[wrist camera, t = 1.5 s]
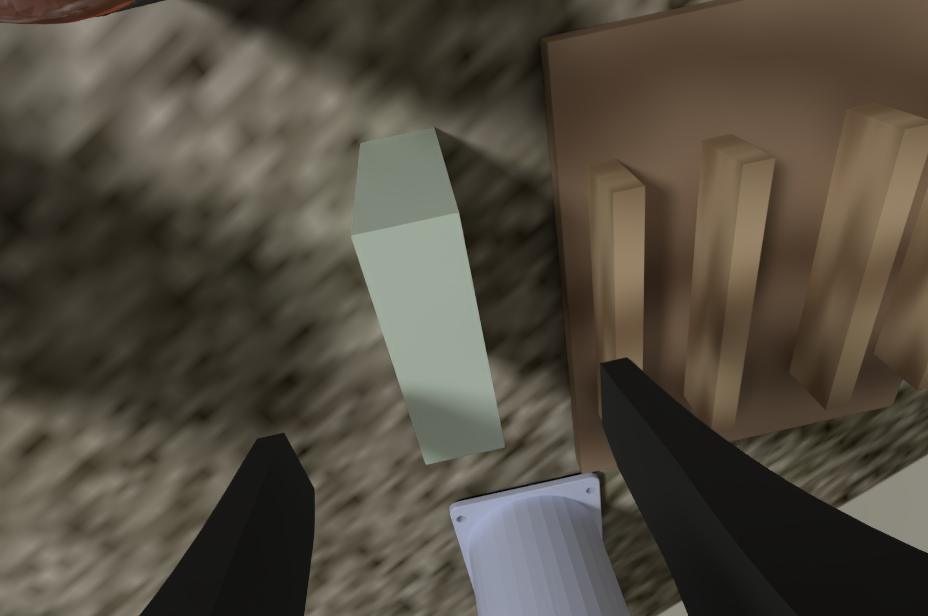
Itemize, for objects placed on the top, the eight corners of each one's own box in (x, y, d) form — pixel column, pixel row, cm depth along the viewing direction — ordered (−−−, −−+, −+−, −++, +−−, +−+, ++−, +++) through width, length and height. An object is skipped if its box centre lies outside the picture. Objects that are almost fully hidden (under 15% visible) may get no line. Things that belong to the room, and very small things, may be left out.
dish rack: (877, 392, 28) (933, 443, 25) (576, 458, 28) (598, 517, 25) (1038, -70, 17) (1172, -73, 14) (539, 38, 17) (571, 57, 14)
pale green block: (473, 319, 23) (505, 447, 17) (414, 331, 23) (425, 464, 17) (434, 126, 18) (458, 212, 12) (360, 143, 18) (350, 235, 12)
